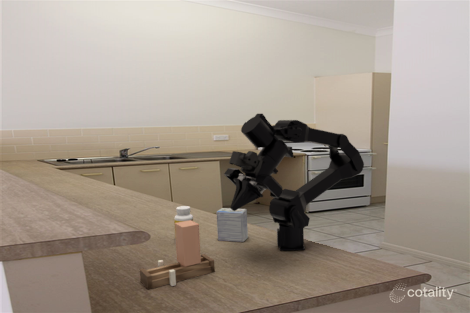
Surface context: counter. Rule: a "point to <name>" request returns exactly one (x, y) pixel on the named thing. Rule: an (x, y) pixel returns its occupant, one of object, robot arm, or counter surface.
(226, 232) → the medicine box
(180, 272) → the wooden tray
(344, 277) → the counter surface
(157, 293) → the counter surface
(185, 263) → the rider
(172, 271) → the pair of white blocks
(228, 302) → the counter surface
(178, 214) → the supplement bottle
